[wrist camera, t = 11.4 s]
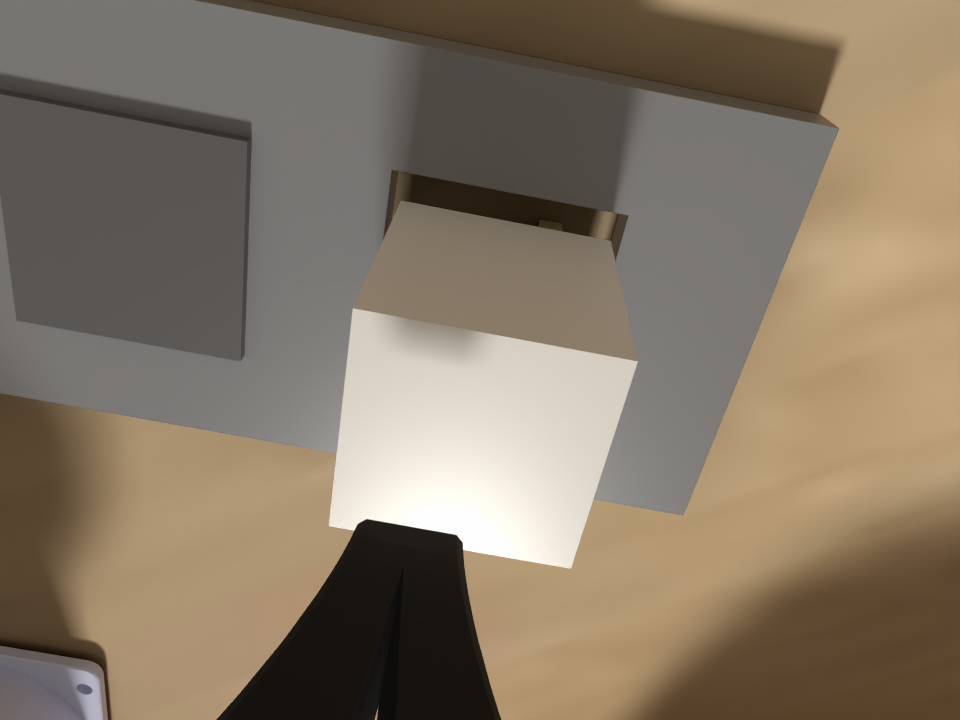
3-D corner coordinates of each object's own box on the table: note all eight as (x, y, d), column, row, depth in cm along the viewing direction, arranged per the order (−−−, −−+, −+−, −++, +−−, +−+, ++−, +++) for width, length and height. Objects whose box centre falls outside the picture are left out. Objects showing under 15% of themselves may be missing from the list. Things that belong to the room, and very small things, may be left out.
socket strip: (676, 485, 22) (688, 533, 20) (-72, 351, 21) (-124, 389, 19) (820, 114, 17) (851, 137, 15) (-158, -81, 16) (-238, -80, 14)
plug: (560, 379, 20) (571, 568, 14) (387, 346, 20) (328, 525, 14) (605, 214, 18) (637, 361, 12) (411, 176, 18) (353, 308, 12)
